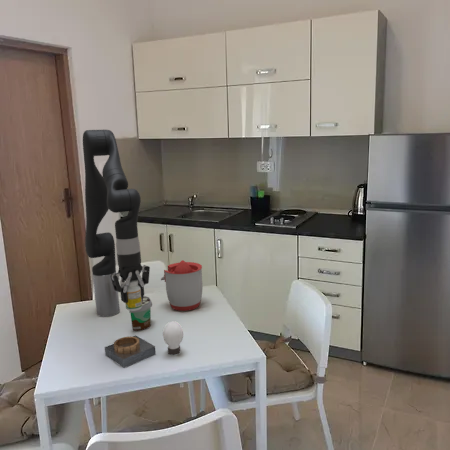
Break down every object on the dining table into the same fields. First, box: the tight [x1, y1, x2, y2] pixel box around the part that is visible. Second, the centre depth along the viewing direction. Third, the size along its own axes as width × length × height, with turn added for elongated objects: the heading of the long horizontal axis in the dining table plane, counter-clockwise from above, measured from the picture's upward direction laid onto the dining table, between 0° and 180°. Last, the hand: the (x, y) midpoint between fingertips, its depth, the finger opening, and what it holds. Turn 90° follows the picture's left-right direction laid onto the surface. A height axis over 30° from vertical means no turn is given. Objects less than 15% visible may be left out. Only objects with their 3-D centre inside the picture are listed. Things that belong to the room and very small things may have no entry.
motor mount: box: [104, 335, 157, 369], centre depth 156 cm, size 12×12×5 cm
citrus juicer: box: [160, 260, 203, 312], centre depth 194 cm, size 16×17×20 cm
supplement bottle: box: [124, 280, 142, 312], centre depth 156 cm, size 5×5×10 cm
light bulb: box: [162, 320, 184, 356], centre depth 155 cm, size 7×7×11 cm
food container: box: [128, 295, 153, 332], centre depth 177 cm, size 12×6×10 cm, turn 168°
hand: (133, 299), depth 156 cm, fingers closed on supplement bottle, 5 cm apart
